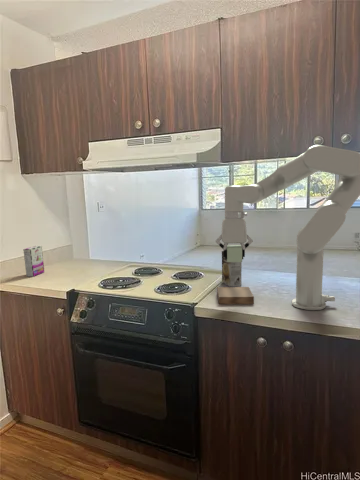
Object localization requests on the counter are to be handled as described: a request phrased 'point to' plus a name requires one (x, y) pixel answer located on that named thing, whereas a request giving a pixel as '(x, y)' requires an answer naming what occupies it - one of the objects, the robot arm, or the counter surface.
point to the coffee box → (231, 272)
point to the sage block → (234, 253)
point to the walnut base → (235, 295)
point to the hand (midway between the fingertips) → (234, 258)
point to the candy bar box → (33, 261)
